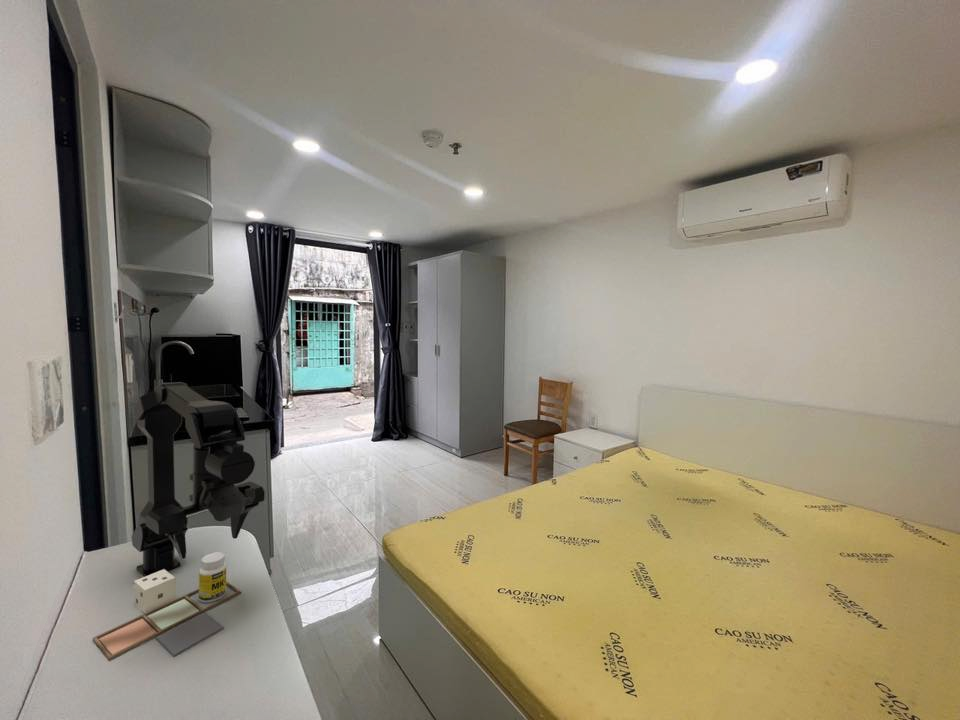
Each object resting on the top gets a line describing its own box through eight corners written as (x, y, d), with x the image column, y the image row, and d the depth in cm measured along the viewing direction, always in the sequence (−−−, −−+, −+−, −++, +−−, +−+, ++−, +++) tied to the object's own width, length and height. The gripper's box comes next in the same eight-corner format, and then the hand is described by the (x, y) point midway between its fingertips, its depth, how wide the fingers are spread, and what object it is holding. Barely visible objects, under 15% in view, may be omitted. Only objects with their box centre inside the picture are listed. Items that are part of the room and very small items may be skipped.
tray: (92, 640, 71) (92, 637, 71) (221, 580, 89) (221, 578, 89) (109, 660, 67) (109, 658, 67) (240, 593, 85) (241, 591, 85)
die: (133, 605, 81) (133, 580, 80) (163, 591, 85) (163, 568, 85) (144, 615, 78) (144, 590, 78) (175, 601, 82) (175, 577, 82)
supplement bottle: (212, 605, 81) (212, 565, 81) (192, 601, 82) (193, 561, 82) (231, 590, 86) (231, 552, 86) (212, 587, 87) (213, 549, 86)
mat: (155, 639, 72) (155, 637, 72) (205, 613, 79) (205, 611, 79) (173, 657, 68) (173, 654, 68) (223, 628, 75) (223, 626, 75)
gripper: (174, 496, 65) (173, 588, 66) (282, 466, 81) (280, 541, 82) (144, 479, 71) (144, 564, 72) (251, 454, 87) (249, 524, 88)
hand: (210, 547), depth 78 cm, fingers open, 9 cm apart
